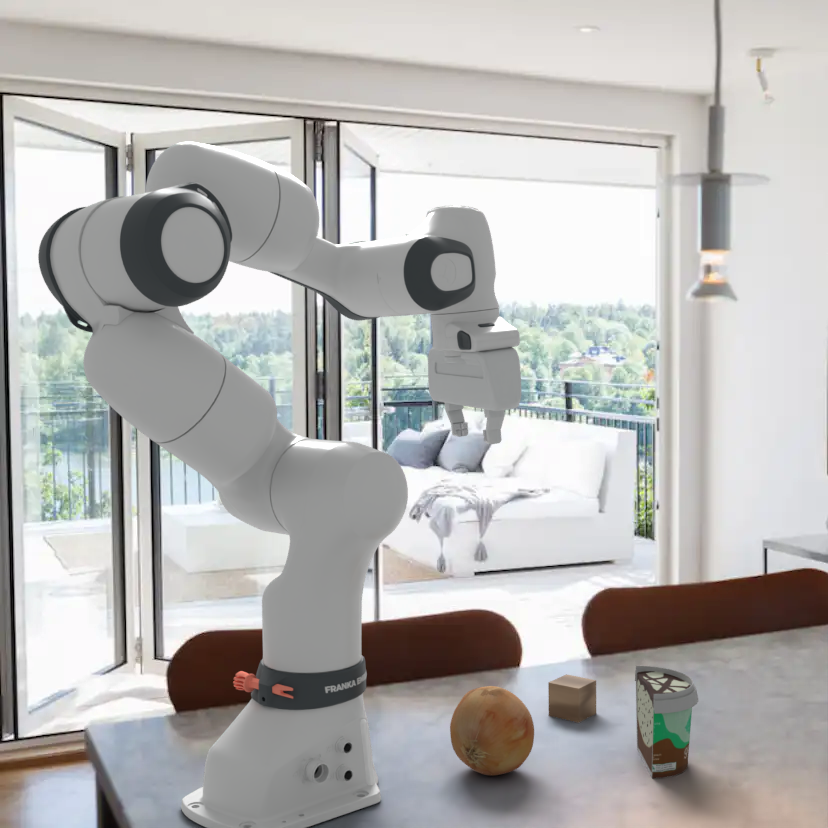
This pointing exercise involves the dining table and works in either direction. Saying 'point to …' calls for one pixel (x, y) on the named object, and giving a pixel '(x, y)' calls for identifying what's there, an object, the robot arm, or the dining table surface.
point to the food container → (664, 719)
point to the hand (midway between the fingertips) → (476, 439)
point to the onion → (492, 730)
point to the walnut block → (572, 698)
